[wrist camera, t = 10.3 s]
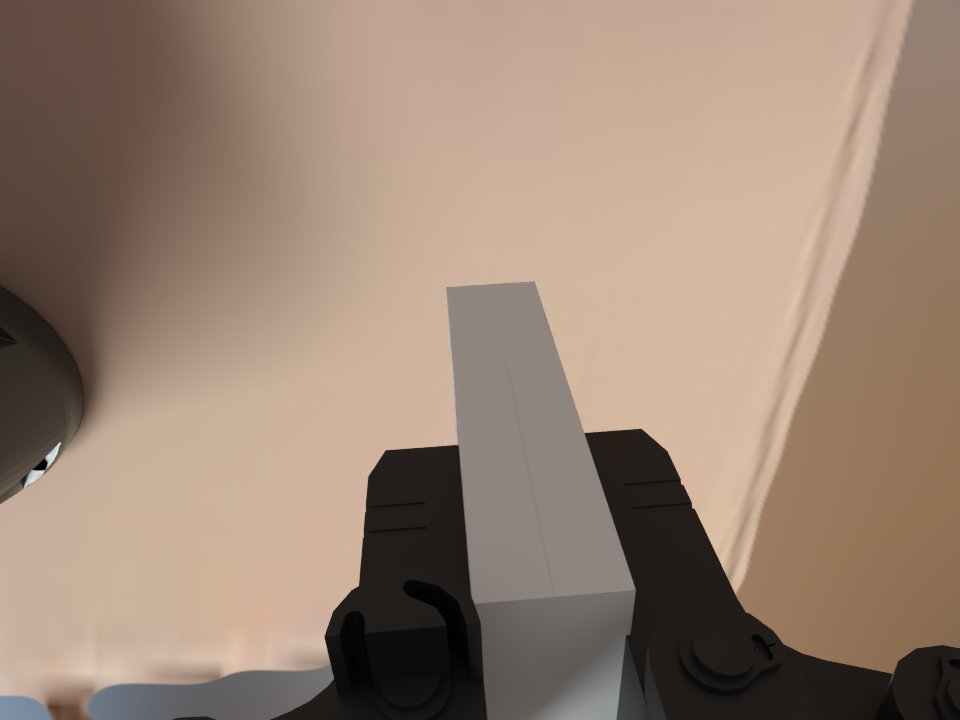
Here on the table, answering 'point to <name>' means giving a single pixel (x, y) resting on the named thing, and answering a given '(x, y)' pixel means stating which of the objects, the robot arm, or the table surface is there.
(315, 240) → the table surface
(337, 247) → the table surface
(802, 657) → the robot arm
